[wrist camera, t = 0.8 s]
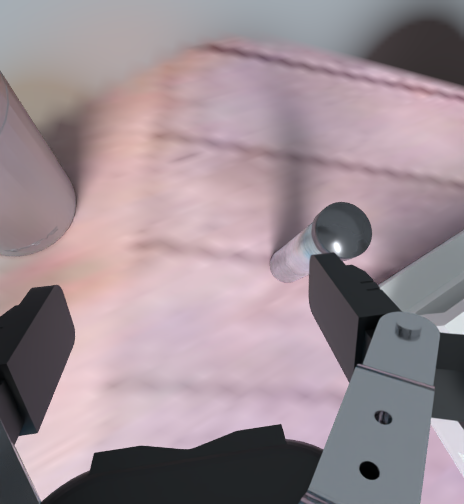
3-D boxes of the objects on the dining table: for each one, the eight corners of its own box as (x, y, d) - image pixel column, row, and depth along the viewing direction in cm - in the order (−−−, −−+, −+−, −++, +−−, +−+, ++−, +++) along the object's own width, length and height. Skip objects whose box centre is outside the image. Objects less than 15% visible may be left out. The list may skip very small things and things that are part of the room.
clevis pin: (260, 258, 34) (306, 217, 23) (292, 240, 35) (351, 192, 24) (280, 292, 34) (337, 268, 22) (311, 273, 35) (382, 241, 23)
